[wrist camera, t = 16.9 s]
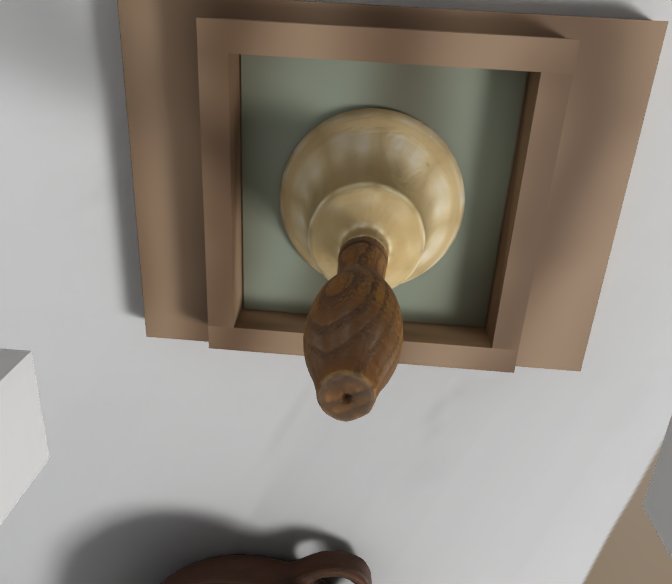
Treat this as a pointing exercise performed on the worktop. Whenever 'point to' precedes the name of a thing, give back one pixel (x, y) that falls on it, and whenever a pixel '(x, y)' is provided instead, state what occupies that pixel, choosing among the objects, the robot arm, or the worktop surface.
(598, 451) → the worktop surface
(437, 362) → the walnut stand
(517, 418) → the worktop surface
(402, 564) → the worktop surface
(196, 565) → the dish
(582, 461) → the worktop surface
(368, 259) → the hand bell
